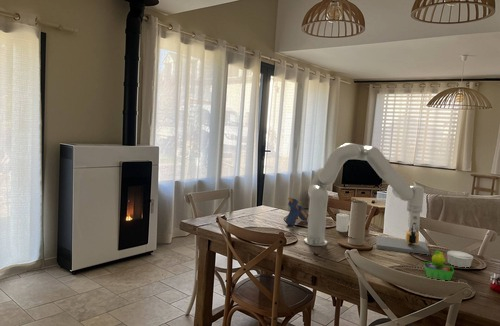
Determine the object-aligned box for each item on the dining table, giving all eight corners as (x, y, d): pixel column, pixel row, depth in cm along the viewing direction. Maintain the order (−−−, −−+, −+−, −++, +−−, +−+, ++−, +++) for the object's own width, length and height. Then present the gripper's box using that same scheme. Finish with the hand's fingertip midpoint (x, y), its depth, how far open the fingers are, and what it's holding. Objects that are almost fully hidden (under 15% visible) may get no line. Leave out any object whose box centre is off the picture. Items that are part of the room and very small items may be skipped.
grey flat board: (429, 255, 192) (429, 251, 192) (376, 248, 200) (376, 244, 199) (424, 245, 209) (424, 241, 209) (375, 239, 217) (376, 235, 217)
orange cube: (417, 244, 199) (418, 234, 198) (406, 242, 201) (407, 233, 200) (416, 241, 204) (417, 232, 204) (405, 239, 206) (406, 230, 205)
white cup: (339, 228, 237) (340, 212, 236) (350, 231, 231) (351, 215, 230) (332, 230, 231) (334, 214, 230) (343, 233, 226) (345, 217, 225)
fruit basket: (424, 278, 162) (426, 253, 161) (422, 271, 170) (424, 247, 169) (453, 283, 158) (456, 257, 157) (450, 276, 166) (453, 251, 165)
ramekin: (461, 270, 173) (462, 259, 173) (440, 262, 184) (441, 251, 183) (477, 267, 178) (478, 257, 177) (456, 259, 188) (457, 249, 188)
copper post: (413, 245, 201) (414, 238, 201) (409, 244, 202) (409, 238, 202) (413, 244, 203) (413, 237, 203) (408, 243, 204) (409, 237, 204)
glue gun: (303, 237, 248) (310, 217, 254) (288, 217, 225) (296, 196, 231) (294, 234, 251) (302, 215, 257) (279, 215, 228) (288, 194, 234)
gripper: (424, 212, 191) (421, 246, 193) (420, 206, 208) (417, 237, 209) (408, 211, 194) (405, 244, 195) (405, 204, 210) (402, 236, 212)
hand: (411, 240), depth 202 cm, fingers closed on orange cube, 5 cm apart
